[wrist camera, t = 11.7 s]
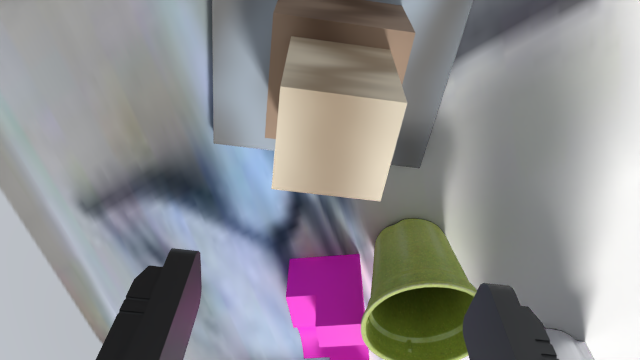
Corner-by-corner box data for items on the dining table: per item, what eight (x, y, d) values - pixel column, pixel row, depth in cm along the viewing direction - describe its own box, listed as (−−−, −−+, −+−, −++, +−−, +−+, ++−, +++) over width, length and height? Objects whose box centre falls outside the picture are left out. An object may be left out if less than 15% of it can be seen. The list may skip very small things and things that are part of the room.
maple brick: (390, 49, 22) (407, 103, 17) (370, 135, 25) (380, 201, 20) (291, 36, 22) (280, 86, 17) (282, 124, 25) (271, 188, 20)
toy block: (289, 257, 40) (282, 328, 34) (359, 252, 39) (364, 323, 33) (311, 353, 49) (308, 423, 42) (368, 350, 48) (374, 421, 42)
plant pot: (346, 274, 41) (349, 360, 34) (366, 194, 35) (376, 277, 28) (444, 285, 41) (468, 372, 34) (480, 208, 36) (517, 293, 29)
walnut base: (487, -64, 24) (526, -45, 20) (417, 160, 33) (432, 212, 28) (214, -107, 24) (185, -98, 19) (216, 136, 32) (196, 185, 27)
